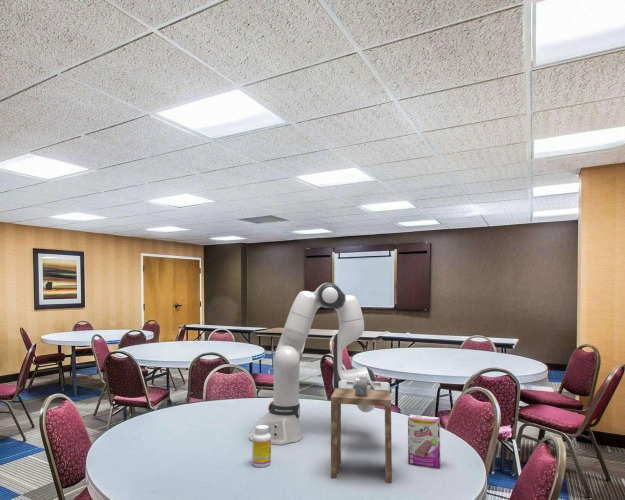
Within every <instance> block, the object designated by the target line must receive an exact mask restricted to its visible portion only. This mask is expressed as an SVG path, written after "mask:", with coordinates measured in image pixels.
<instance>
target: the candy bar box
mask: <svg viewBox="0 0 625 500" xmlns="http://www.w3.org/2000/svg"><path fill="white" fill-rule="evenodd" d="M440 421H441V419H440V417H435V416H427V415H426V416H425V415H418V414H411V413H410V414H409V415H408V417H407V450H408V451H407V454H408V455H407V461H408V462H407V463H408V465H414V466H420V467H426V468H433V469H434V468H435V469H440V468H441V432H440V431H441V423H440Z"/></svg>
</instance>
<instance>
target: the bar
mask: <svg viewBox="0 0 625 500" xmlns="http://www.w3.org/2000/svg"><path fill="white" fill-rule="evenodd" d="M355 396H359V397H367V377H359V381H358V382H356V383H355Z"/></svg>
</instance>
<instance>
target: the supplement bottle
mask: <svg viewBox="0 0 625 500" xmlns="http://www.w3.org/2000/svg"><path fill="white" fill-rule="evenodd" d="M255 427H256V433H255V434H254V435H253V441H252V449H251V451H252V453H251V455H252V456H251V459H252V460H251V463H252V465H253V466H254V467H256V468H264V467H267V466H270V465H271V459H272V457H271V455H272V454H271V453H272V444H271V435H270V434H269V433H268V430H269V427H268V426H267V425H258V426H256V425H255Z"/></svg>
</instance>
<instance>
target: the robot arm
mask: <svg viewBox="0 0 625 500" xmlns="http://www.w3.org/2000/svg"><path fill="white" fill-rule="evenodd" d="M321 307H322V308H326V309H334V310H335V311H336V315H337V318H338V319H337V320H338V330H337V333H335V335H334V337H333V349H332V351H333V355H332V356H333V360H332V361H333V363H332V364H333V373H332V381H331V383H332V388H333V390H334V391H335V389H336V388H337V389H355V383H356V382H358V381H359V377H367V390H380V391H390V392H391V389H390V387H391V385H390V382H388V381H376V378H375V373H374V372H373V370H371V368H369V367H368V366H364V367H362V366H361V367H358V368H357V367H356V368H352V369H345V370H344V369H343V351H344V349H345V348H346V347H347V346H348V345H350V344H352V343H353V342H355V341H357V340H358V339H359V338H360V337H361V336H362V335H363V333H364V331H365V320H364V315H363V312H362V308H361V305H360V301H359V300H358V298H357V297H356V296H355V295H352V294H345V293H344V292H343V291H342V290H341V288H340V287H339V286H338V285H336V284H335V283H332V282H324V283H322V284H321V285H319V286H318V287H317V288H316V289H314V291H309V290H303V291H300V292H299V293H298V294H297V295H296V297H295V299H294V301H293V303H292V305H291V308H290V309H289V313H288V315H287V318H286V321H285V324H284V327H283V330H282V333H281V336H280V338H279V340H278V343H277V347H276V350H275V352H274V356H273V397H272V399H273V400H272V401H271V402H270V403H269V405H268V407H267V410H268V412H267V413H266V414H265V415H263V416H262V417H260V418H259V419H258V420H257V422H256V423H255V428H254V430H252V431H251V432H250V434H249V435H248V440H249V441H251V442H253V435H254V434H255V433H256V426H258V425H267V426H268V427H269V430H268V433H269V434H270V435H271V445H279V446H283V445H286V444H290V443H295V442H298V441H301V440H302V439H303V435H302V429H301V426H300V415H301V404H300V400H299V399H300V370H301V369H300V366H301V365H300V363H301V362H300V361H301V358H300V357H301V354H302V352H303V348H304V345H305V344H306V340H307V338H308V336H309V333H310V331H311V327H312V325H313V321H314V319H315V315H316V313H317V311H318V309H320V308H321ZM334 391H333V392H334ZM356 407H357V408H358V410H359V411H361V413H369V412H371V411H373V410H374V409H375V407H376V406H373V405H356Z"/></svg>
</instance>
